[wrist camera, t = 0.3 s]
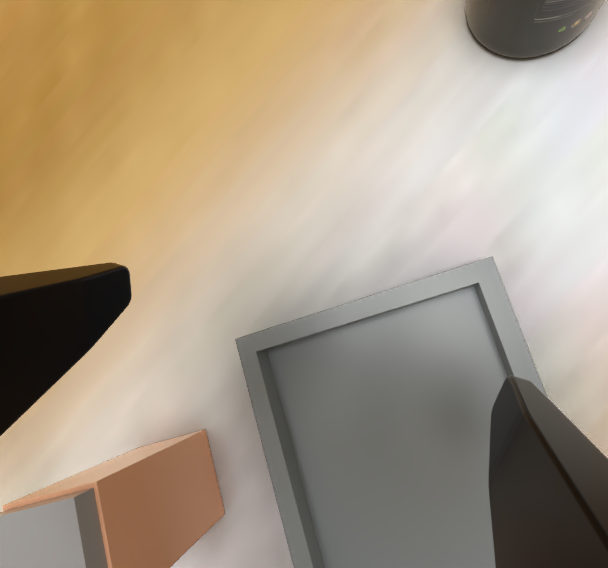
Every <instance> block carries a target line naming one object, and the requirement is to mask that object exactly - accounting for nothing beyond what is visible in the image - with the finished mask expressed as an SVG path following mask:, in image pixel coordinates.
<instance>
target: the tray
mask: <svg viewBox="0 0 608 568" xmlns="http://www.w3.org/2000/svg"><path fill="white" fill-rule="evenodd" d="M235 340H236V344H237V348H238V352H239V356H240V360H241V363H242V367H243V371H244V375H245V379H246V383H247V387H248V391H249V395H250V398H251V402H252V406H253V410H254V414H255V418H256V422H257V426H258V430H259V434H260V437H261V441H262V445H263V449H264V453H265V457H266V461H267V465H268V469H269V472H270V476H271V480H272V484H273V488H274V492H275V496H276V500H277V504H278V507H279V511H280V515H281V519H282V523H283V527H284V531H285V535H286V539H287V543H288V546H289V550H290V554H291V558H292V562H293V566H294V568H496V566H495V555H494V544H493V533H492V522H491V510H490V499H489V452H490V426H491V412H492V408H493V405H494V402H495V400H496V398H497V396H498V394H499V391H500V389H501V387H502V385H503V383H504V381H505V379H506V378H507V377H508V376H510V375H512V376H516V377H519V378H523V379H527V380H529V381H531V382H532V383H533V384H534V385H535V386H536V387H537V388H538V389H539V390H540V391H541V392H542V393H543V394H544V395H545V396H546V397H547V395H546V393H545V390H544V388H543V385H542V382H541V380H540V377H539V375H538V372H537V370H536V367H535V364H534V362H533V359H532V357H531V354H530V352H529V349H528V346H527V344H526V341H525V339H524V336H523V334H522V331H521V328H520V326H519V323H518V321H517V318H516V316H515V313H514V310H513V308H512V305H511V303H510V300H509V298H508V295H507V292H506V290H505V287H504V285H503V282H502V280H501V277H500V274H499V272H498V269H497V267H496V264H495V262H494V259H493V256H492V257H489V258H486V259H483V260H480V261H476V262H473V263H470V264H467V265H464V266H461V267H458V268H455V269H452V270H449V271H445V272H442V273H439V274H436V275H433V276H430V277H427V278H424V279H421V280H417V281H414V282H411V283H408V284H405V285H402V286H399V287H396V288H393V289H389V290H386V291H383V292H380V293H377V294H374V295H371V296H368V297H365V298H361V299H358V300H355V301H352V302H349V303H346V304H343V305H340V306H337V307H333V308H330V309H327V310H324V311H321V312H318V313H315V314H312V315H309V316H305V317H302V318H299V319H296V320H293V321H290V322H287V323H284V324H281V325H277V326H274V327H271V328H268V329H265V330H262V331H259V332H256V333H253V334H249V335H246V336H243V337H240V338H237V339H235Z"/></svg>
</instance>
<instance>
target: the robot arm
mask: <svg viewBox="0 0 608 568" xmlns="http://www.w3.org/2000/svg"><path fill="white" fill-rule="evenodd" d="M130 301H131V283H130V273H129V270H128V268H127V267H125V266H123V265H119V264H116V263H104V264H96V265H89V266H81V267H73V268H65V269H58V270H50V271H42V272H35V273H27V274H19V275H11V276H4V277H0V436H1V435H2V434H3V433H4V432H5V431H6V430H7V429H8V428H9V427H10V426H11V425H12V424H13V423H14V422H16V421H17V420H18V419H19V418H20V417H21V416H22V415H23V414H24V413H25V412H26V411H27V410H28V409H29V408H30V407H31V406H32V405H33V404H34V403H35V402H36V401H37V400H38V399H39V398H40V397H41V396H42V395H44V394H45V393H46V392H47V391H48V390H49V389H50V388H51V387H52V386H53V385H54V384H55V383H56V382H57V381H58V380H59V379H60V378H61V377H62V376H63V375H64V374H65V373H66V372H67V371H68V370H69V369H71V368H72V367H73V366H74V365H75V364H76V363H77V362H78V361H79V360H80V359H81V358H82V357H83V356H84V355H85V354H86V353H87V352H88V351H89V350H90V349H91V348H92V347H93V346H94V345H95V343H96V342H97V341H98V340H99V339H100V338H101V337H102V335H103V334H104V333H105V332H106V331H107V330H108V328H109V327H110V326H111V325H112V324H113V323H114V321H115V320H116V319H117V318H118V317H119V315H120V314H121V313H122V312H123V311H124V310H125V308H126V307H127V306H128V305H129V303H130ZM489 499H490V510H491V522H492V533H493V544H494V555H495V566H496V568H608V459H607V458H606V457H605V456H604V455H603V454H602V453H601V452H600V451H599V450H598V448H597V447H596V446H595V445H594V444H593V443H592V442H591V441H590V440H589V439H588V438H587V437H586V436H585V435H584V434H583V433H582V432H581V431H580V430H579V429H578V428H577V427H576V426H575V425H574V424H573V423H572V422H571V421H570V420H569V419H568V418H567V417H566V416H565V415H564V414H563V413H562V412H561V411H560V410H559V409H558V408H557V407H556V406H555V405H554V404H553V403H552V402H551V401H550V400H549V399H548V398H547V397H546V396H545V395H544V394H543V393H542V392H541V391H540V390H539V389H538V388H537V387H536V386H535V385H534V384H533V383H532V382H531V381H529V380H527V379H523V378H519V377H516V376H512V375H510V376H508V377H507V378H506V379H505V381H504V383H503V385H502V387H501V389H500V391H499V394H498V396H497V398H496V400H495V402H494V405H493V408H492V412H491V426H490V452H489Z"/></svg>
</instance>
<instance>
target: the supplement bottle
mask: <svg viewBox="0 0 608 568" xmlns="http://www.w3.org/2000/svg"><path fill="white" fill-rule="evenodd" d="M603 2H604V0H466V17H467V21H468V24H469V27H470V29H471V31H472V33H473V35H474V36H475V38H476V39H477V40H478V41H479V42H480V43H481V44H482V45H483V46H485V47H486V48H487V49H489V50H491V51H493V52H495V53H497V54H500V55H503V56H507V57H513V58H529V57H536V56H541V55H544V54H547V53H550V52H553V51H555V50H557V49H559V48H561V47H563V46H565V45H566V44H568V43H569V42H571V41H572V40H573V39H575V38H576V37H577V36H578V35H579V34H580V33H581V32H582V31H583V30H584V29H585V28H586V27H587V26H588V25H589V23H590V22H591V21H592V19H593V18H594V16H595V15H596V13H597V12H598V10H599V8H600V7H601V5H602V3H603Z"/></svg>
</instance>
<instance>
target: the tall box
mask: <svg viewBox="0 0 608 568" xmlns="http://www.w3.org/2000/svg"><path fill="white" fill-rule="evenodd" d="M224 514H225V510H224V506H223V502H222V498H221V493H220V489H219V485H218V481H217V476H216V472H215V468H214V463H213V459H212V455H211V451H210V446H209V442H208V438H207V434H206V429H205V430H201V431H197V432H194V433H190V434H186V435H183V436H179V437H175V438H172V439H168V440H164V441H161V442H157V443H153V444H150V445H146V446H142V447H139V448H136V449H134V450H131V451H129V452H127V453H124V454H122V455H120V456H117V457H115V458H113V459H110V460H108V461H106V462H103V463H101V464H99V465H96V466H94V467H92V468H89V469H87V470H85V471H82V472H80V473H78V474H75V475H73V476H71V477H68V478H66V479H64V480H61V481H59V482H57V483H54V484H52V485H50V486H47V487H45V488H43V489H40V490H38V491H36V492H33V493H31V494H29V495H26V496H24V497H22V498H19V499H17V500H15V501H12V502H10V503H8V504H5V505H3V512H0V568H170V567H171V566H172V565H173V564H174V563H175V562H176V561H177V560H178V559H179V558H180V557H181V556H182V555H183V554H184V553H185V552H186V551H187V550H188V549H189V548H190V547H191V546H193V545H194V544H195V543H196V542H197V541H198V540H199V539H200V538H201V537H202V536H203V535H204V534H205V533H206V532H207V531H208V530H209V529H210V528H211V527H212V526H213V525H214V524H215V523H216V522H217V521H218V520H219V519H220V518H221V517H222V516H223V515H224Z"/></svg>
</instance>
